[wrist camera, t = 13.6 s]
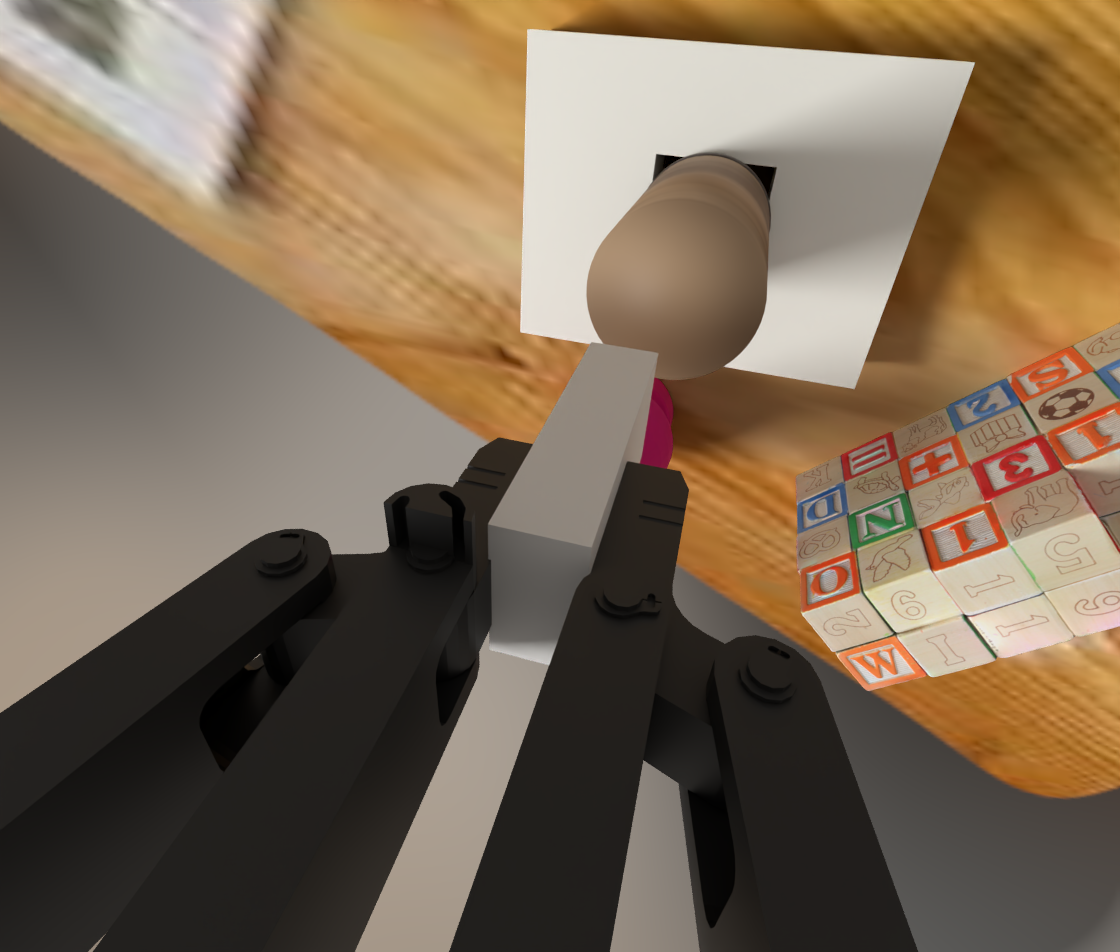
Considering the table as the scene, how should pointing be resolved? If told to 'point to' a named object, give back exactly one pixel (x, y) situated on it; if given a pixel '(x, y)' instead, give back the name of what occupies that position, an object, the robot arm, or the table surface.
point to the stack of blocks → (971, 525)
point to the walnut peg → (686, 267)
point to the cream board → (753, 138)
